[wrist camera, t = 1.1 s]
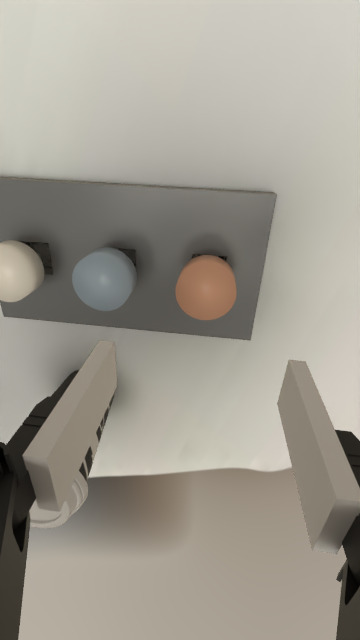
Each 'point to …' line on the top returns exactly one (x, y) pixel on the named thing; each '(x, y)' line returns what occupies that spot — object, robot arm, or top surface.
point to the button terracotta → (206, 287)
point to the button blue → (104, 279)
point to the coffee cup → (79, 485)
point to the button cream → (19, 270)
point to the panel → (138, 248)
